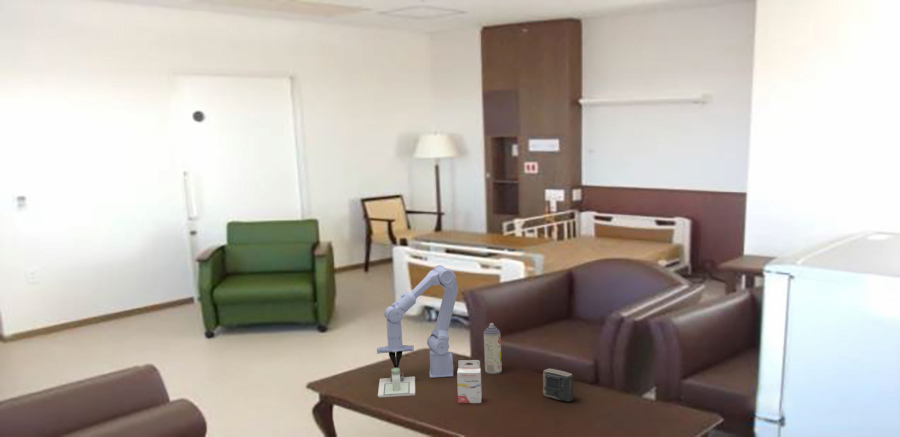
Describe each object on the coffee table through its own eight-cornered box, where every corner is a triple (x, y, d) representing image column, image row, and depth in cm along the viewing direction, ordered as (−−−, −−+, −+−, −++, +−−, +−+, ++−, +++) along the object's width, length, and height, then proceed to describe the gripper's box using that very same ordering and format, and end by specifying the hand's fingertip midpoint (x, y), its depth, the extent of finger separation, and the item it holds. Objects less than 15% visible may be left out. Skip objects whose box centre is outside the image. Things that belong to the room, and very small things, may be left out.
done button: (400, 375, 285) (400, 370, 285) (400, 378, 282) (400, 373, 282) (393, 376, 285) (393, 371, 285) (393, 378, 282) (392, 373, 282)
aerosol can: (503, 373, 287) (501, 325, 284) (486, 375, 287) (484, 326, 284) (500, 368, 294) (498, 320, 291) (484, 369, 293) (482, 322, 291)
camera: (576, 399, 258) (575, 372, 256) (567, 404, 254) (566, 377, 252) (550, 392, 266) (549, 366, 264) (540, 397, 261) (540, 370, 260)
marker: (400, 387, 275) (399, 367, 274) (400, 390, 272) (399, 370, 271) (392, 388, 275) (391, 368, 274) (392, 391, 272) (391, 370, 271)
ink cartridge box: (457, 403, 259) (455, 364, 257) (459, 398, 264) (457, 359, 262) (481, 403, 258) (479, 364, 256) (482, 398, 263) (480, 359, 261)
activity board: (414, 378, 287) (414, 372, 286) (415, 395, 269) (414, 388, 269) (379, 380, 286) (379, 374, 286) (377, 397, 268) (377, 390, 268)
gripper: (375, 340, 277) (377, 374, 279) (413, 338, 278) (414, 372, 280) (376, 335, 284) (378, 368, 286) (413, 333, 285) (414, 365, 287)
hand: (396, 369), depth 283 cm, fingers closed
